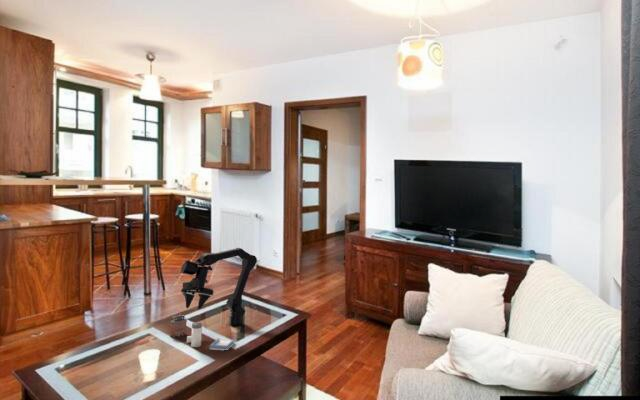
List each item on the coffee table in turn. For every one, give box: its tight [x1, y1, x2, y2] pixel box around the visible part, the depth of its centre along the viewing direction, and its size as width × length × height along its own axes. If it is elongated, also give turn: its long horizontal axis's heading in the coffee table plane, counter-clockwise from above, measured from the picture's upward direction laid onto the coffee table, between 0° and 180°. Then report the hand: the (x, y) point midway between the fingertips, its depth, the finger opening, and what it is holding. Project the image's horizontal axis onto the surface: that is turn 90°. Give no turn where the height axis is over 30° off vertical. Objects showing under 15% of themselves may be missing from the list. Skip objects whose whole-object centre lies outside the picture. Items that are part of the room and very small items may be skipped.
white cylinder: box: [190, 321, 203, 348], centre depth 165 cm, size 4×4×10 cm
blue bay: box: [209, 338, 235, 351], centre depth 165 cm, size 9×8×2 cm
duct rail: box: [186, 335, 192, 343], centre depth 169 cm, size 6×2×2 cm, turn 122°
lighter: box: [169, 314, 188, 338], centre depth 177 cm, size 8×3×10 cm, turn 134°
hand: (192, 308), depth 176 cm, fingers open, 9 cm apart
